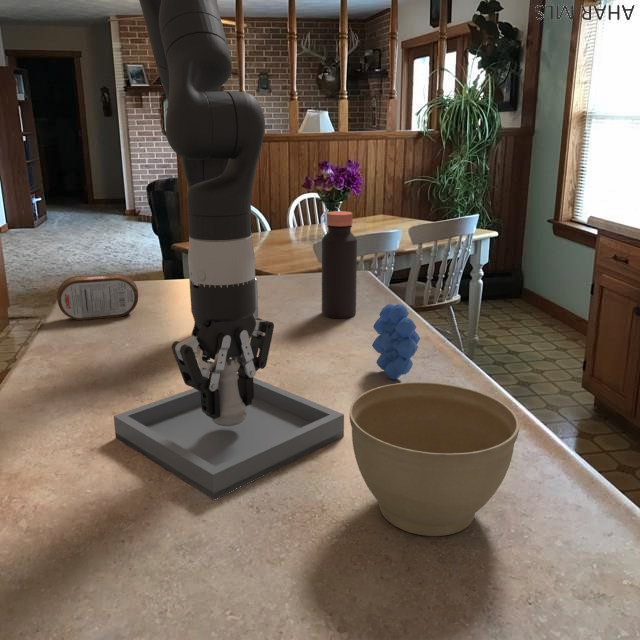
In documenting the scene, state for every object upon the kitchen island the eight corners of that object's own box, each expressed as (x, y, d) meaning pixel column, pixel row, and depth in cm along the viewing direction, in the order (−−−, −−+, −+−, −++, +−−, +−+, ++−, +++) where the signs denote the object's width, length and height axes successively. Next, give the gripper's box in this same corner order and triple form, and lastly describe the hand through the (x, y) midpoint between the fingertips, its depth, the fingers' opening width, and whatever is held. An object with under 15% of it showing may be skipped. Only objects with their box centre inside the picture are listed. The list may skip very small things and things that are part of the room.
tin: (139, 311, 136) (136, 270, 133) (140, 316, 133) (137, 274, 131) (59, 318, 131) (54, 276, 129) (59, 323, 129) (54, 280, 126)
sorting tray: (241, 391, 97) (240, 372, 97) (343, 436, 84) (344, 414, 83) (115, 437, 84) (113, 415, 83) (214, 500, 70) (213, 474, 70)
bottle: (362, 312, 135) (364, 212, 129) (344, 321, 130) (346, 216, 124) (333, 307, 139) (333, 209, 133) (315, 315, 133) (314, 213, 127)
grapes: (437, 389, 98) (441, 310, 95) (395, 395, 96) (397, 314, 93) (401, 361, 109) (404, 289, 105) (363, 367, 107) (364, 293, 103)
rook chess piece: (240, 429, 81) (238, 366, 78) (205, 425, 82) (201, 363, 79) (251, 413, 85) (249, 353, 83) (217, 410, 86) (215, 350, 83)
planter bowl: (477, 584, 58) (486, 471, 55) (318, 525, 66) (318, 424, 63) (529, 496, 71) (539, 401, 68) (391, 456, 79) (394, 370, 76)
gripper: (249, 259, 85) (253, 385, 90) (150, 279, 75) (161, 419, 81) (289, 269, 80) (291, 401, 85) (190, 292, 70) (199, 439, 76)
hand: (228, 409), depth 83 cm, fingers closed on rook chess piece, 4 cm apart
